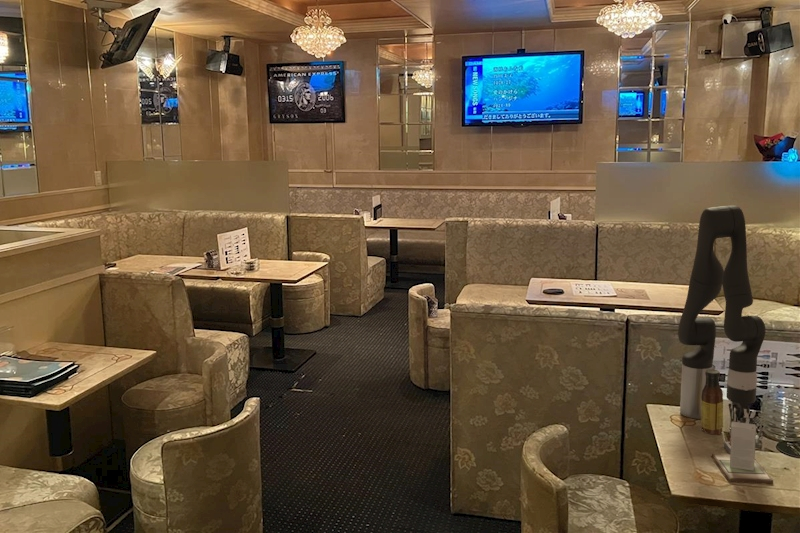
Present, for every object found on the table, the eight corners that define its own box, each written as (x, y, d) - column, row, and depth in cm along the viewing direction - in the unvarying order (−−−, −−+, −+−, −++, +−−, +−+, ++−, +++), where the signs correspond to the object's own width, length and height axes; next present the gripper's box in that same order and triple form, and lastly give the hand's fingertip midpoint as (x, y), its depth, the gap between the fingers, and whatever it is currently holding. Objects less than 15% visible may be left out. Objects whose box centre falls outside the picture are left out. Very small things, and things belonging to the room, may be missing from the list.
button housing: (723, 447, 198) (724, 441, 198) (745, 448, 197) (745, 442, 197) (730, 456, 192) (731, 450, 192) (752, 457, 191) (753, 451, 191)
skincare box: (753, 465, 184) (756, 424, 182) (754, 471, 181) (756, 430, 179) (729, 461, 187) (731, 420, 185) (729, 467, 183) (731, 426, 181)
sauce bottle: (718, 427, 212) (721, 367, 209) (725, 435, 206) (729, 374, 203) (696, 427, 213) (699, 367, 210) (703, 435, 207) (706, 374, 204)
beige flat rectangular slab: (711, 456, 192) (711, 453, 192) (751, 458, 191) (752, 454, 191) (729, 482, 178) (729, 478, 178) (773, 483, 176) (773, 479, 176)
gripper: (720, 376, 198) (717, 431, 201) (735, 391, 185) (732, 450, 188) (747, 377, 197) (744, 432, 200) (764, 392, 184) (761, 451, 187)
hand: (738, 441), depth 194 cm, fingers closed
